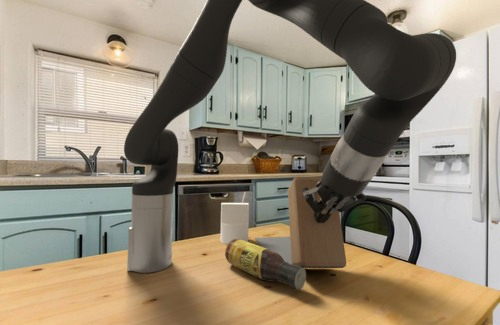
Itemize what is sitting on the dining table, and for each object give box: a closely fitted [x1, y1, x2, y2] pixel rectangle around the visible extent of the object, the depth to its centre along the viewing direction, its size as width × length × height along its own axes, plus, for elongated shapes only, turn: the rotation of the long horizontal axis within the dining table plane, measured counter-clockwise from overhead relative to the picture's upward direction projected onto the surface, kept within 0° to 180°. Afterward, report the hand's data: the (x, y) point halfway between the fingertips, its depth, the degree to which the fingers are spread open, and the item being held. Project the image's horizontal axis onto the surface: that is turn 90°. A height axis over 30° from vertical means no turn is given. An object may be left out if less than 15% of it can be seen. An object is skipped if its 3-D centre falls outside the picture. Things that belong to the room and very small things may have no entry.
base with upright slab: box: [220, 202, 250, 245], centre depth 79 cm, size 9×9×12 cm
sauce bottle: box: [224, 239, 307, 290], centre depth 54 cm, size 6×6×20 cm
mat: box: [254, 236, 292, 265], centre depth 71 cm, size 16×24×1 cm, turn 10°
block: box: [287, 176, 347, 269], centre depth 58 cm, size 10×10×20 cm
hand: (319, 219), depth 53 cm, fingers closed
